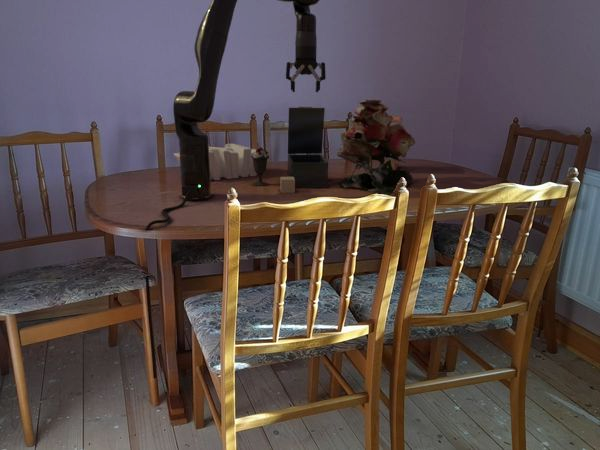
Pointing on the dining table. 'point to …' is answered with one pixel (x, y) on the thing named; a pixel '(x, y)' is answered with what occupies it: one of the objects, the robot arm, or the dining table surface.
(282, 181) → the block
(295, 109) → the lid
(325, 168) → the chest
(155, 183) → the dining table surface
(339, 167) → the dining table surface
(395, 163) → the cracker box
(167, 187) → the dining table surface
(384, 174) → the rose bouquet
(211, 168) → the wavy white extrusion
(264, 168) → the sundae
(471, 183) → the dining table surface
